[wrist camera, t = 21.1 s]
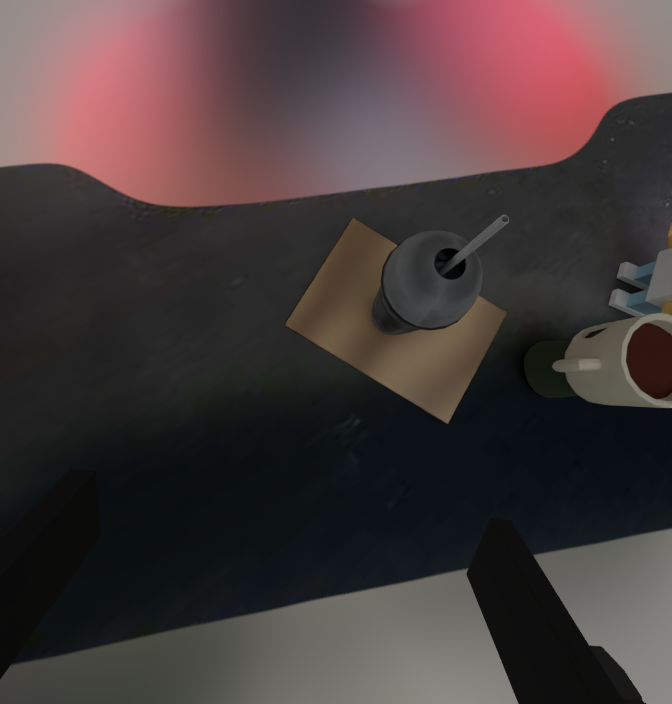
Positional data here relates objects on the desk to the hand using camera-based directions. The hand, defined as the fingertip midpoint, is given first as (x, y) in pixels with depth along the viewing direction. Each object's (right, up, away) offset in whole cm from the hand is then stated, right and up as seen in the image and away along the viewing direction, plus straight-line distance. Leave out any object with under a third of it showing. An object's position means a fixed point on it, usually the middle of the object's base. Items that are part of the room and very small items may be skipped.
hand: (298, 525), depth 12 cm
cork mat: (+8, +9, +26) cm, 29 cm away
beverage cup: (+7, +10, +26) cm, 29 cm away
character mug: (+25, +4, +27) cm, 37 cm away
